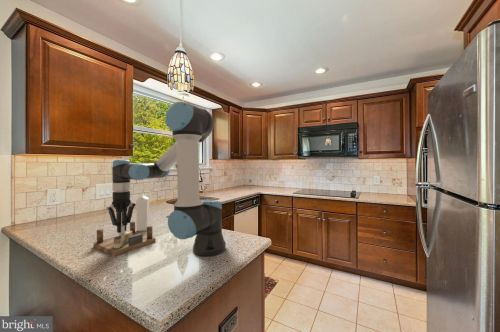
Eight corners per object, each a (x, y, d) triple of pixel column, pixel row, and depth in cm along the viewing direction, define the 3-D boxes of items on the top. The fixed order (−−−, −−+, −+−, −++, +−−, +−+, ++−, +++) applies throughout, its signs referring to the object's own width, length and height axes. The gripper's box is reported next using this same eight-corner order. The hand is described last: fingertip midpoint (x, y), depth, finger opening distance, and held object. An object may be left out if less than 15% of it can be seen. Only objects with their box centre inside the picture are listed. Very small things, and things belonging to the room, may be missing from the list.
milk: (136, 231, 127) (135, 194, 127) (139, 228, 133) (139, 193, 133) (147, 230, 128) (146, 194, 128) (149, 227, 134) (149, 193, 134)
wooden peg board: (155, 241, 109) (155, 226, 109) (114, 256, 92) (114, 237, 92) (134, 235, 120) (134, 221, 120) (93, 246, 103) (93, 230, 103)
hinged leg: (119, 248, 95) (119, 238, 95) (112, 248, 95) (112, 238, 95) (133, 238, 107) (133, 229, 107) (127, 238, 107) (127, 229, 107)
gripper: (130, 189, 112) (130, 233, 112) (103, 192, 101) (103, 241, 101) (138, 190, 108) (138, 236, 108) (111, 193, 97) (111, 244, 97)
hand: (121, 238), depth 104 cm, fingers closed
